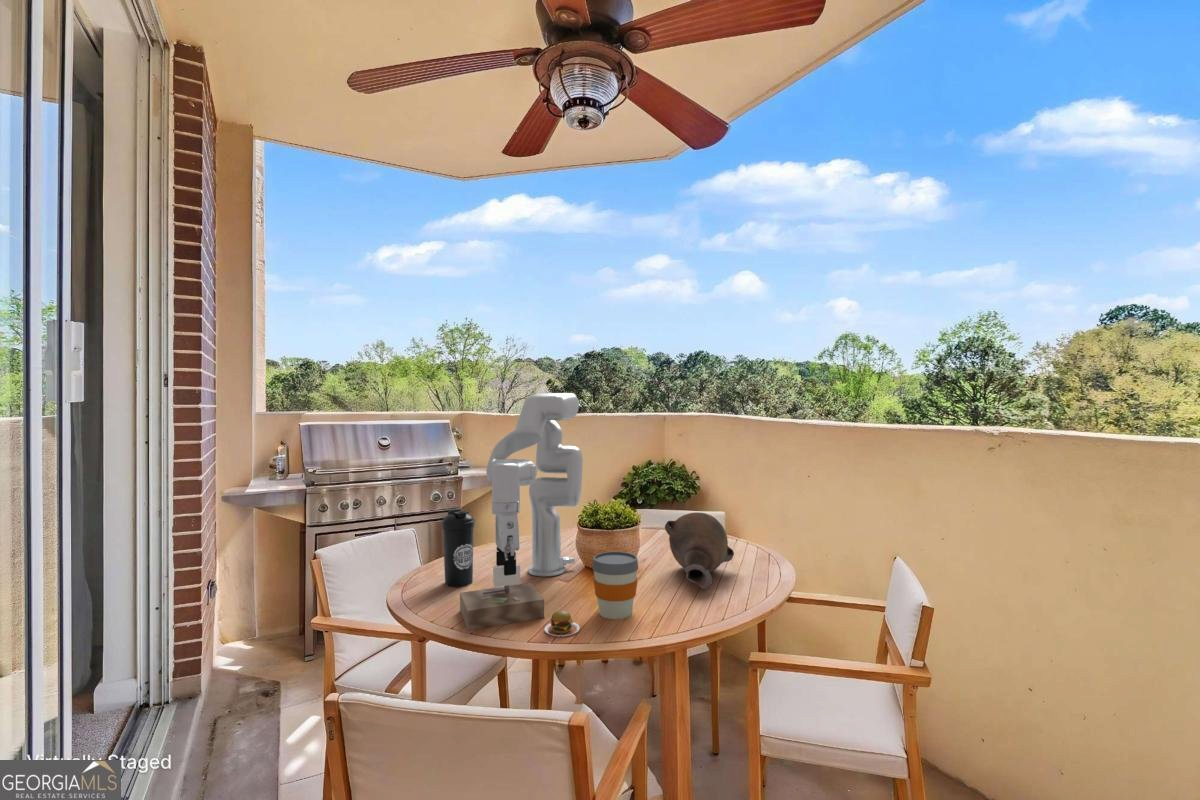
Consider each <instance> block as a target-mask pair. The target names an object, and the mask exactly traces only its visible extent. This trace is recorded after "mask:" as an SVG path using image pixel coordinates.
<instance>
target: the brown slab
mask: <svg viewBox="0 0 1200 800" xmlns="http://www.w3.org/2000/svg"><path fill="white" fill-rule="evenodd" d="M500 589H504V586H500V587H493V588H491V587H490V588H485V589H479V590H471V591H463V592H459V611H460V614H461V616H462V619H463V622H464V623H465V626H466V629H467V631H472V630H479V629H486V628H491V627H497V626H503V625H509V624H515V623H516V624H517V623H522V622H527V621H528V622H529V621H533V620H534V621H535V620H539V619H540V620H541V619H545V599H544V597H543V595H541V593H540V592H539V591H538V590H537V588H535V586H534V585H533V584H532V583H531V582H529V583H520V584H515V585H509V590H510V591H509V592H498V593H490V594H483V592H485V591H492V590H500Z"/></svg>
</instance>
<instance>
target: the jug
mask: <svg viewBox="0 0 1200 800" xmlns="http://www.w3.org/2000/svg"><path fill="white" fill-rule="evenodd" d="M664 529H665V531H666V533H667V535H668V536H669V537H668V539H669V540H668V541H669V547H670V551H671V553H672V556H673V557H674V559H675V561H676V562H677V564H678V565H680V566H681V567H682V568H683V570H684V572H685V573H686V575H685V578H686V580H688V581H690V582H691V583H693V584H696V585H698V587H700V588H701V589H702V590H708V589H709V588H710V586H711V585H712V584H713V576H712V574H711V573H712V572H714V571H715V570H717V568H719V567H720V566H721V565H722V564H723V563H726V562H730V561H732V560H733V558H734V555H735V552H734V550H733V549H732V548H731V547H730V546H729V545H728V544H729V542H728V541H729V540H728V535H727V531H726V529H725V528H724V526H723V525H722V523H721V522H720V521H719V520H718V519H717V518H716V517H714V516H712V515H711V514H708V513H705V512H690V513H686V514H683V515H682V516H680V517H678V518H677V519H675V520H668V521H666V523H665V525H664Z"/></svg>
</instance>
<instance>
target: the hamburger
mask: <svg viewBox="0 0 1200 800" xmlns="http://www.w3.org/2000/svg"><path fill="white" fill-rule="evenodd" d="M574 626H575V628H576V630H575V631H574V632H573V633H571V634H567V633H569V632H570V631H571V629H572V627H574ZM549 629H551V630H552V632H553V633H555V634H551V633H550V632H549ZM580 629H581V627H580V625H579V624H578V623H576V622H574V621H573V620H572V615H571V613H570V612H569V611H567V610H565V609H558V610H555V611H554V612H553V613H552V615H551V617H550V623H548V624H547V625H546V626H545V627H544V632H545V633H546V634H548V635H549V636H550V635H551V636H554V637H559V635H556V634H564V635H562V637H568V636H572V635H574V634H576V633H578V632H579V631H580Z"/></svg>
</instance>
